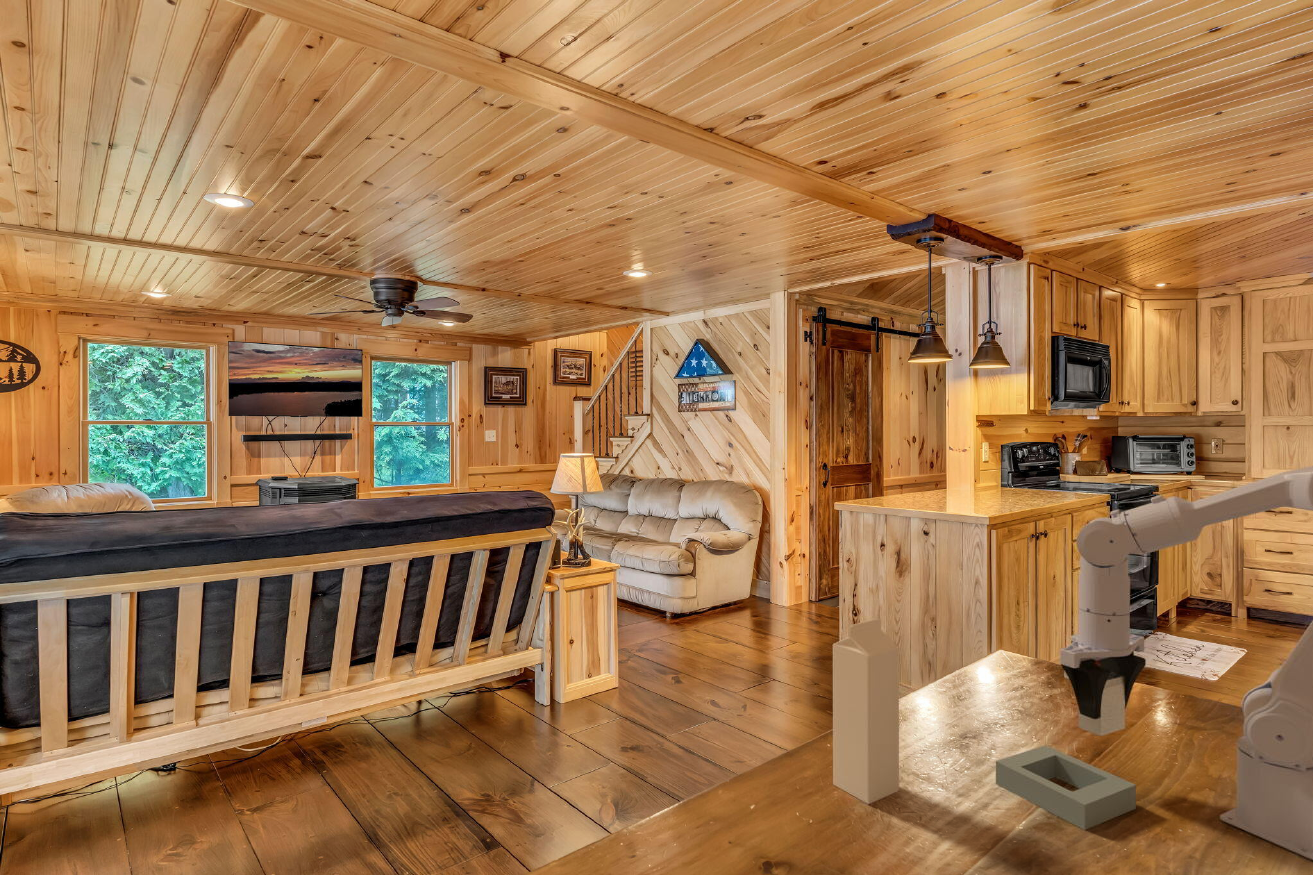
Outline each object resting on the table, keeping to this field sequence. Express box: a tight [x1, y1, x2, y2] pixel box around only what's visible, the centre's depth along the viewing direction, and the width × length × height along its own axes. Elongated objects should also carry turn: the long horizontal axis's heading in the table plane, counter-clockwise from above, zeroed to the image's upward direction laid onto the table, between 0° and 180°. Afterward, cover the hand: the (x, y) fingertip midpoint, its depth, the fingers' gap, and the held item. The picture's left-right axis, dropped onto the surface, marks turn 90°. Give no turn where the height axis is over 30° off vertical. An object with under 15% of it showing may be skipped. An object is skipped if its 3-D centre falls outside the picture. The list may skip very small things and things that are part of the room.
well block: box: [995, 744, 1137, 831], centre depth 91 cm, size 12×10×3 cm
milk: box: [832, 618, 900, 805], centre depth 93 cm, size 6×6×22 cm
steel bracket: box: [1063, 670, 1126, 737], centre depth 95 cm, size 5×5×7 cm
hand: (1102, 712), depth 94 cm, fingers closed on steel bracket, 5 cm apart
